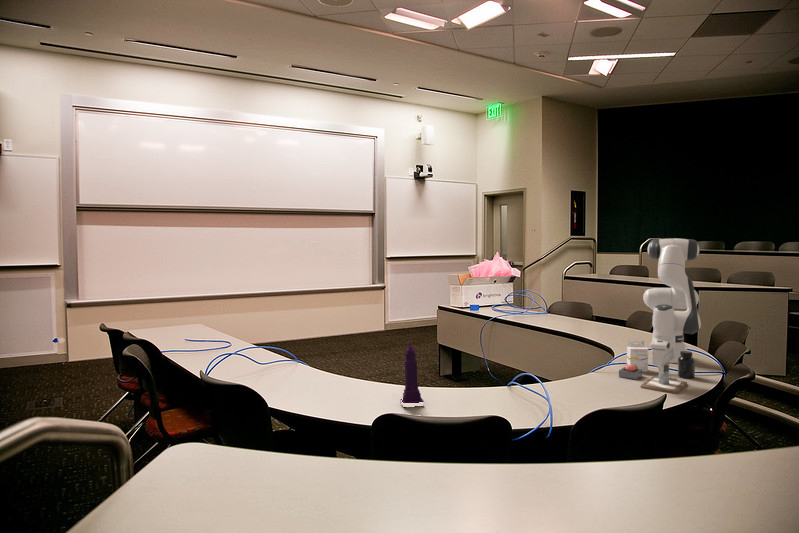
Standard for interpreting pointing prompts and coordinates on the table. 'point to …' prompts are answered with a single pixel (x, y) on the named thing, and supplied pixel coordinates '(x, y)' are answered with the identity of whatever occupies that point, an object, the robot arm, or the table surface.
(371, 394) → the table surface
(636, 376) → the button housing
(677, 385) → the picture frame
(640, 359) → the ink cartridge box
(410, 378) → the building model
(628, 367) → the button
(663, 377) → the grey lidded jar
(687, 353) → the supplement bottle
